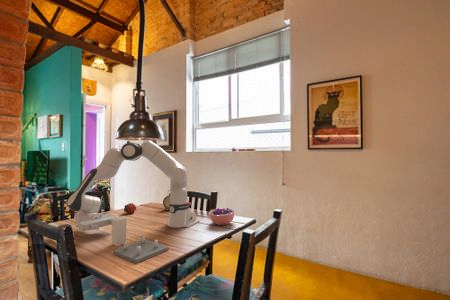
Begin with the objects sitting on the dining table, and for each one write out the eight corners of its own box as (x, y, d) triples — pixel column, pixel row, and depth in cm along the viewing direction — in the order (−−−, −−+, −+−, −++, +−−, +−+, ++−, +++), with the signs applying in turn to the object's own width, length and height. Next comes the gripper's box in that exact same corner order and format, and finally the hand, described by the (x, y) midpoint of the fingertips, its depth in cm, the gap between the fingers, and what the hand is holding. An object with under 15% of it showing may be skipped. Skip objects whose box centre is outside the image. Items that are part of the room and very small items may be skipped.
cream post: (120, 241, 133) (120, 217, 133) (126, 243, 130) (126, 218, 130) (111, 244, 129) (112, 219, 129) (117, 246, 126) (117, 220, 126)
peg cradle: (144, 242, 132) (144, 232, 132) (168, 249, 122) (168, 239, 122) (112, 253, 117) (112, 243, 117) (136, 263, 107) (136, 251, 107)
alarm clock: (162, 211, 200) (163, 190, 200) (162, 209, 205) (162, 189, 205) (176, 210, 203) (176, 190, 203) (176, 208, 208) (176, 189, 208)
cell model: (239, 222, 170) (239, 205, 170) (224, 230, 153) (224, 211, 153) (218, 218, 179) (218, 202, 179) (202, 225, 162) (202, 208, 162)
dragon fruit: (125, 217, 186) (132, 215, 198) (134, 210, 186) (141, 209, 198) (119, 208, 187) (126, 206, 199) (128, 201, 188) (135, 200, 200)
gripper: (74, 219, 136) (87, 224, 128) (109, 212, 152) (123, 215, 145) (74, 231, 135) (87, 236, 128) (109, 222, 152) (122, 226, 145)
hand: (106, 225), depth 136 cm, fingers open, 8 cm apart
